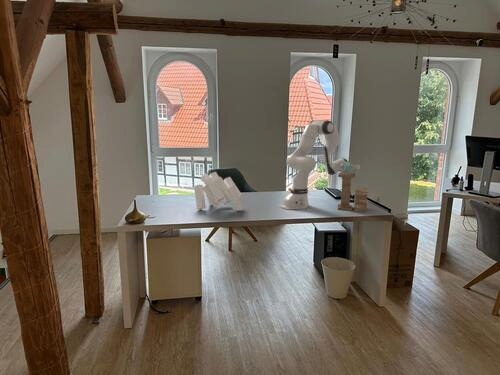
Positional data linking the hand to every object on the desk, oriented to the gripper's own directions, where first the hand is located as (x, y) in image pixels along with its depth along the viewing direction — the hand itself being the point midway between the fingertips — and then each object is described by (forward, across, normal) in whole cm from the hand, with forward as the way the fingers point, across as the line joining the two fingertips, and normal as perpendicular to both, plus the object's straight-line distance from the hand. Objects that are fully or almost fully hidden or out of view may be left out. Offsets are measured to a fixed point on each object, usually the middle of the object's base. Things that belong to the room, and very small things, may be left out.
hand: (346, 163), depth 265 cm
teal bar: (+5, 0, +6) cm, 8 cm away
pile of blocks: (+11, -92, +44) cm, 103 cm away
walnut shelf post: (-8, 0, +33) cm, 34 cm away
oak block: (-8, +11, +33) cm, 35 cm away
